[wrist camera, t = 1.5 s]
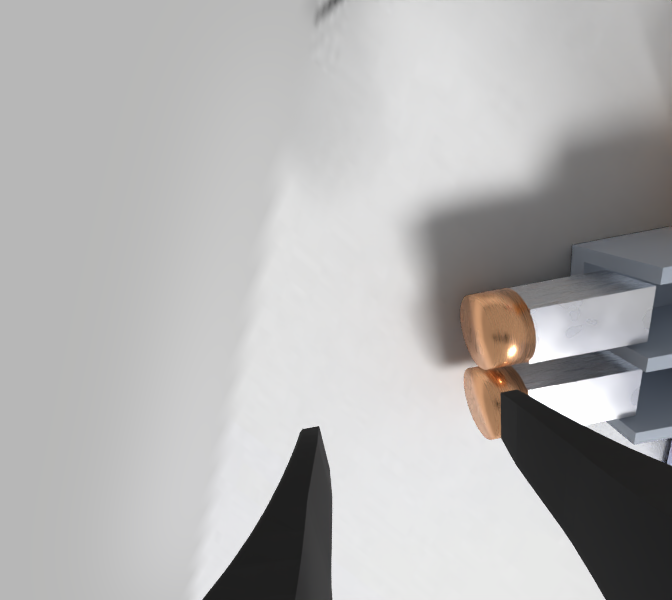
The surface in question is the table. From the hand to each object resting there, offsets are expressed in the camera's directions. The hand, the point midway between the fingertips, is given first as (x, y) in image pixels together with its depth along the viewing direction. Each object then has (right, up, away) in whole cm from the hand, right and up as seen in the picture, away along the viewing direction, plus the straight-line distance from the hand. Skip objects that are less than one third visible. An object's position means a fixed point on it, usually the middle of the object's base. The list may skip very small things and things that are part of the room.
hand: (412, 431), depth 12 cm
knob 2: (+9, 0, +9) cm, 13 cm away
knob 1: (+8, +4, +8) cm, 12 cm away
